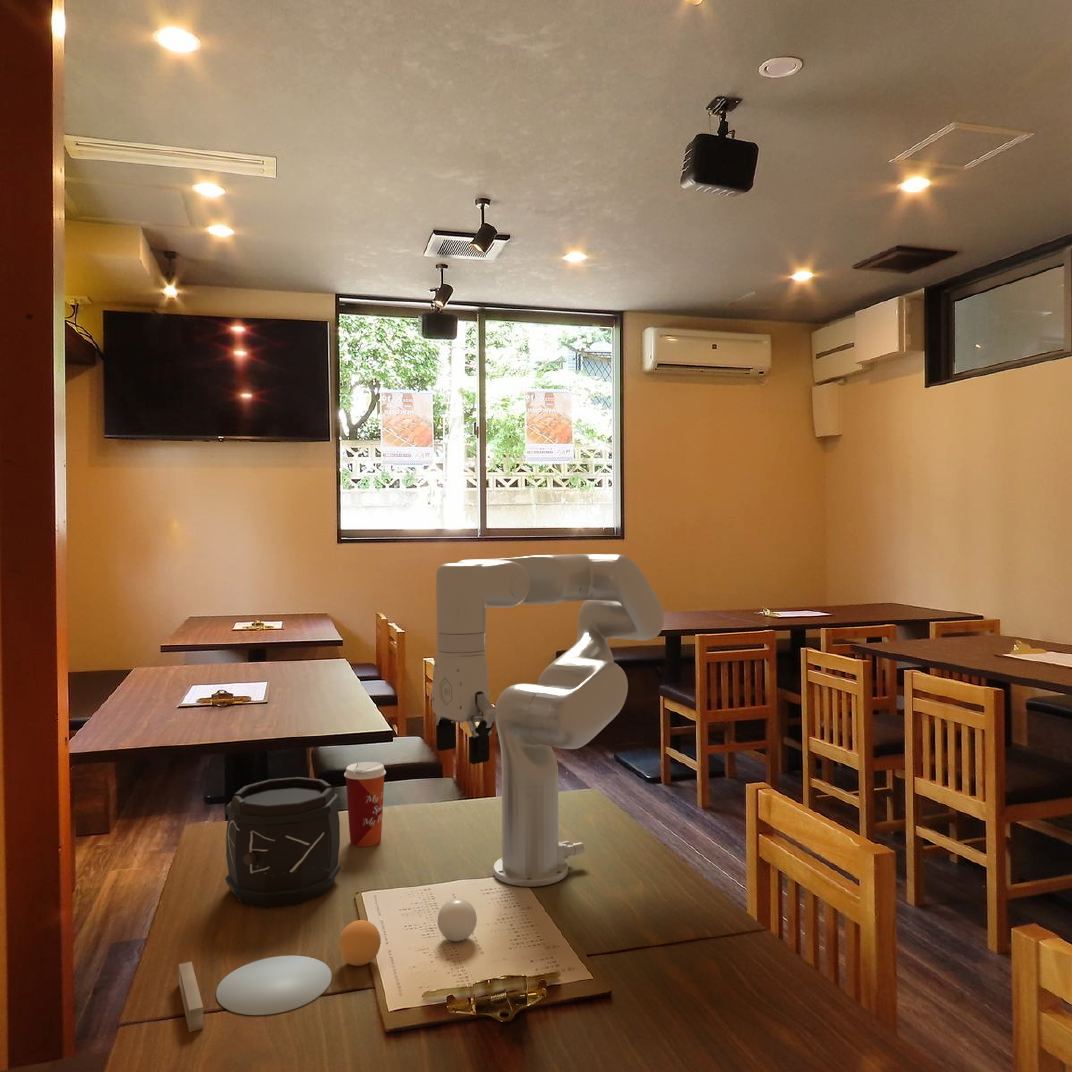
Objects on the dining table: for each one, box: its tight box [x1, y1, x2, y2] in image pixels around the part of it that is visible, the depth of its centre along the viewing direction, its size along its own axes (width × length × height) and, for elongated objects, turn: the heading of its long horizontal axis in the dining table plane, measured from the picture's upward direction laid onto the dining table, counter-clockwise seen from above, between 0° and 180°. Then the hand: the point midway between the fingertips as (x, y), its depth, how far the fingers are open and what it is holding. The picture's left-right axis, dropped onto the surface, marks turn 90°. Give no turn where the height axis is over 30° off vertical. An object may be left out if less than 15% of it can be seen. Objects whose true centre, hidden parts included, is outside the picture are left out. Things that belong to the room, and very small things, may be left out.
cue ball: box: [437, 898, 478, 942], centre depth 120 cm, size 6×6×6 cm
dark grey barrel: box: [224, 776, 342, 909], centre depth 138 cm, size 18×18×16 cm
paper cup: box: [343, 761, 387, 848], centre depth 159 cm, size 8×8×14 cm
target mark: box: [215, 955, 333, 1016], centre depth 108 cm, size 14×14×1 cm
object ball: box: [338, 919, 382, 967], centre depth 114 cm, size 6×6×6 cm
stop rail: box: [178, 961, 204, 1033], centre depth 104 cm, size 2×12×2 cm, turn 28°
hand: (462, 755), depth 130 cm, fingers open, 9 cm apart
